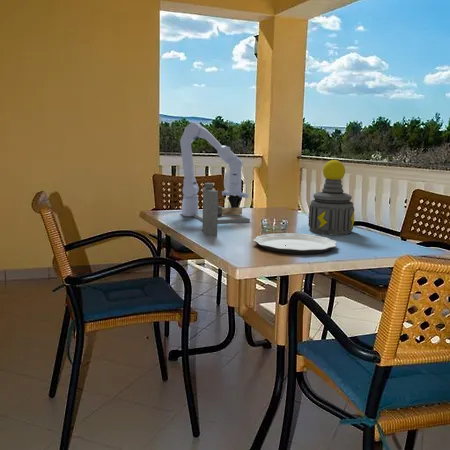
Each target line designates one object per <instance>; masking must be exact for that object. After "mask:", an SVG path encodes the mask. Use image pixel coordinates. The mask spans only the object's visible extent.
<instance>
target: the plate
mask: <svg viewBox="0 0 450 450" xmlns="http://www.w3.org/2000/svg"><path fill="white" fill-rule="evenodd" d="M252 241H253V242H254V243H256V244H258V245H259V246H261V247H262V248H263V249H265V250H268V251H271V252H277V253H282V254H291V255H313V254H314V255H315V254H321V253H325V252H328V251H329V250H332V249H335V248H336V247H337V244H338V242H337V241H336V240H333V239H330V238H328V237H326V236H318V235H313V234H305V233H291V232H285V233H282V232H281V233H267V234H262V235H257V236H256V237H255V238H253V239H252ZM285 245H286V246H285Z"/></svg>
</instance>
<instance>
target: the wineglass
mask: <svg viewBox="0 0 450 450" xmlns="http://www.w3.org/2000/svg"><path fill="white" fill-rule="evenodd" d="M229 176H230V170H229V171H228V170H227V171H225V173H224V177H223V187H224V191H229ZM229 208H231V205H230V206H229Z"/></svg>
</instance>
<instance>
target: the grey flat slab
mask: <svg viewBox="0 0 450 450" xmlns="http://www.w3.org/2000/svg"><path fill="white" fill-rule="evenodd" d="M193 217H194V218H196V219H197V220H198V221H200V222H202V223H203V212H202V213H199V212H198V213H197V214H194V216H193ZM250 221H251V220H250V218H249V217H246V216H244V215H243V214H242V215H222V216H218V219H217V224H229V223H230V224H232V223H233V224H234V223H251V222H250Z"/></svg>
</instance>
